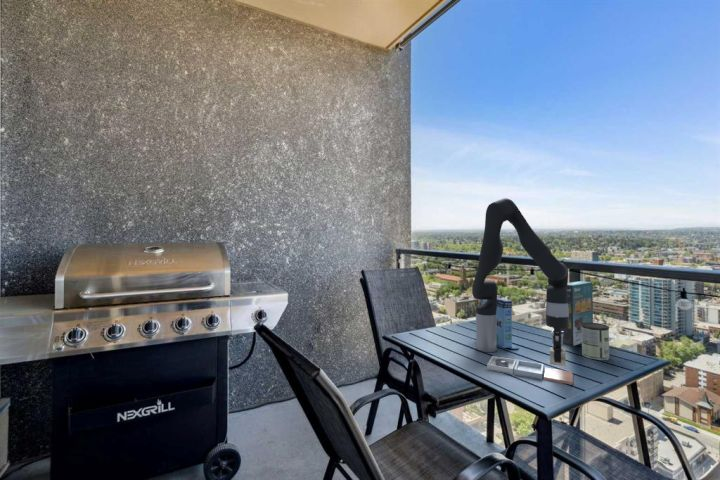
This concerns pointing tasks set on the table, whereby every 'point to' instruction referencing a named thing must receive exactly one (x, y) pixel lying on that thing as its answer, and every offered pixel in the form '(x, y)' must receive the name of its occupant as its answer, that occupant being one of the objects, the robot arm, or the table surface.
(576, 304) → the cake mix box
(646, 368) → the table surface
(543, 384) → the table surface
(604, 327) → the coffee can
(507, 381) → the table surface
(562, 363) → the letter cube
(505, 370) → the near tray
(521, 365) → the middle tray
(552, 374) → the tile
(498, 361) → the grey domed disc
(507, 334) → the gum box
